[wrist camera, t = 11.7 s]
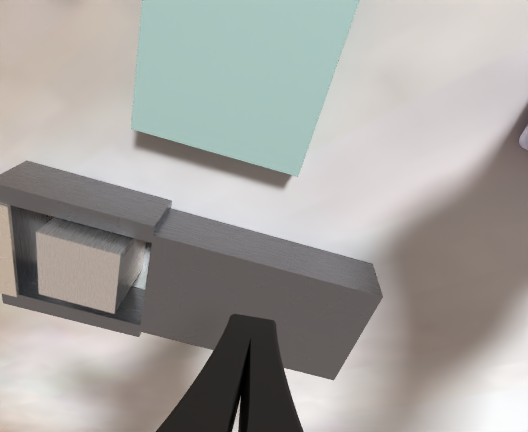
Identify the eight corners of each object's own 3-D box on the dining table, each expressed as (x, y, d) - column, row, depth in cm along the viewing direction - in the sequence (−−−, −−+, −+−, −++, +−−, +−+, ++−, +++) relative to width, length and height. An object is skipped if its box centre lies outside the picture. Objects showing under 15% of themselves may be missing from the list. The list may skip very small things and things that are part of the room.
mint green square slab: (359, -16, 14) (365, -19, 13) (297, 165, 18) (297, 177, 17) (163, -79, 14) (149, -90, 12) (143, 120, 18) (131, 128, 16)
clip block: (120, 255, 17) (35, 232, 17) (114, 313, 19) (38, 293, 19) (150, 214, 20) (81, 194, 20) (142, 267, 22) (79, 250, 22)
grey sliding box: (376, 257, 20) (387, 292, 18) (327, 348, 24) (331, 388, 22) (26, 160, 19) (-17, 183, 17) (34, 272, 23) (0, 305, 20)
